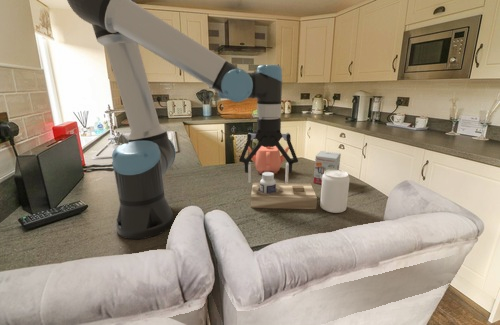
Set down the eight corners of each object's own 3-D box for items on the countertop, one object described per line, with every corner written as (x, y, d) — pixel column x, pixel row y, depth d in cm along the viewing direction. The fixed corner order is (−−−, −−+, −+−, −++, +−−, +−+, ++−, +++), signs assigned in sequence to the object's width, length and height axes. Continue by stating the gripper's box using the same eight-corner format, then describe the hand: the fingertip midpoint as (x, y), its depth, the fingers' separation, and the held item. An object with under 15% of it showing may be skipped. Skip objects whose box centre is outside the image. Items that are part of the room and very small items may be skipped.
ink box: (312, 183, 103) (314, 155, 100) (317, 176, 111) (319, 150, 107) (334, 186, 99) (337, 157, 96) (338, 179, 107) (341, 152, 103)
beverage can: (326, 200, 88) (328, 167, 84) (349, 207, 83) (353, 172, 79) (315, 209, 82) (318, 174, 78) (340, 217, 77) (344, 179, 73)
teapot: (291, 170, 118) (292, 144, 114) (265, 179, 108) (265, 150, 105) (269, 163, 129) (270, 139, 126) (243, 170, 119) (243, 144, 116)
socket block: (316, 209, 82) (317, 197, 80) (250, 207, 83) (250, 196, 82) (310, 193, 93) (310, 183, 92) (252, 192, 94) (252, 182, 93)
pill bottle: (277, 198, 90) (278, 172, 87) (272, 204, 85) (273, 177, 82) (263, 195, 92) (263, 170, 89) (257, 202, 87) (257, 175, 84)
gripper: (306, 116, 83) (302, 178, 89) (232, 116, 84) (234, 177, 91) (309, 119, 76) (305, 186, 82) (229, 119, 77) (231, 185, 84)
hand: (268, 181), depth 86 cm, fingers open, 12 cm apart
